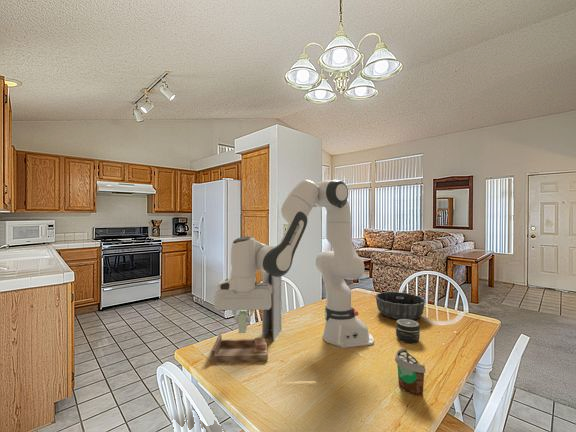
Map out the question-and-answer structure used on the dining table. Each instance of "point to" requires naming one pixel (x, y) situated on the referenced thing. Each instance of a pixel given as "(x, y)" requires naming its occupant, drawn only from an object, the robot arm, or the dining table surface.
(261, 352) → the offcut
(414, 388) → the food container
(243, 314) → the pale green brick
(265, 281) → the brochure
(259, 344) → the offcut
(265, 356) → the tray
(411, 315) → the bundt pan
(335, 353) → the dining table surface
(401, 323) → the jar
